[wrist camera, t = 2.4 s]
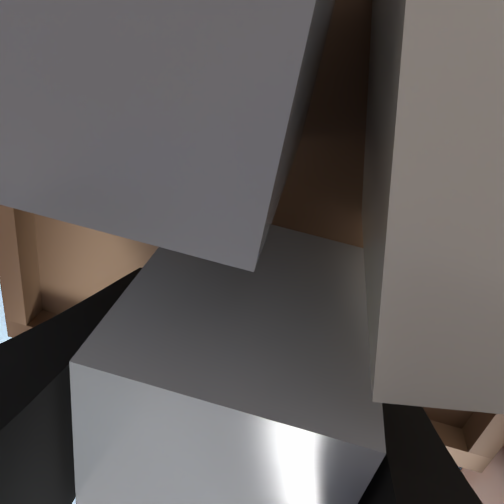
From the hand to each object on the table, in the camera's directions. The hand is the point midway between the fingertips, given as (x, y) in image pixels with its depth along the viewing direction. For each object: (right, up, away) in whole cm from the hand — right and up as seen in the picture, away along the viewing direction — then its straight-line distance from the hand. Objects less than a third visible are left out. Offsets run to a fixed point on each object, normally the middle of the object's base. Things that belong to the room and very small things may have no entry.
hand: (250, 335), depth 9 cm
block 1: (0, +1, +1) cm, 1 cm away
